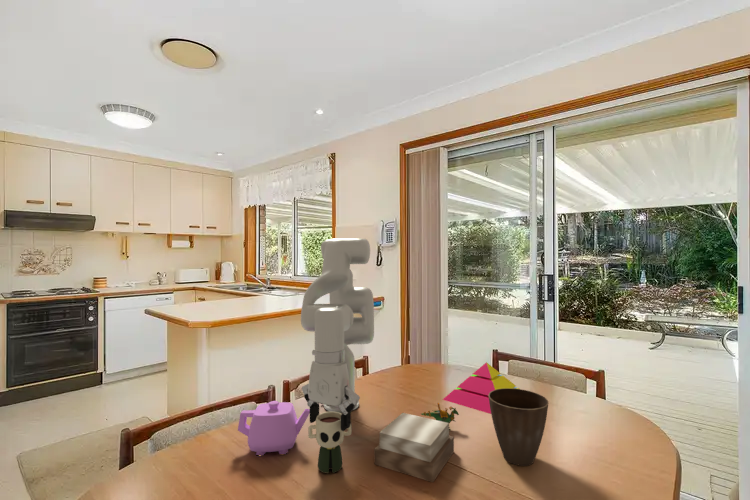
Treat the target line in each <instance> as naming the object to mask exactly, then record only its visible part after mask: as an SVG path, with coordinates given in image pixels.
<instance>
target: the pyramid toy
mask: <svg viewBox="0 0 750 500" xmlns="http://www.w3.org/2000/svg"><path fill="white" fill-rule="evenodd" d="M503 388H513V389H520V388H519V387H517V385H515V384H514V383H513V382H512V381H510V380H509V379H508V378H507V377H505V376H504V375H503V374H502V373H501V372H499V371H498V370H497V369H495V368H494V367H493V366H492V365H491V364H489V363H488V362H487V361H486V362H485V363H484V364H483V365H481V366H480V367H478V369H476V370H475V371H474V372H473V373H472V375H470V376H468V377H467V378H466V379H465V380H464V381H462V382H461V383H460V384H459V385H458V386H457V387H455V388H454V389H453V390H451V391H450V392H449V393H448V394H447V395H446V396H445V397H444V398H442V400H443V401H445V402H450V403H453V404H456V405H460V406H463V407H467V408H469V409H473V410H475V411H480V412H483V413H485V414H486V413H487V414H490V415H491V410H490V403H489V396H488V395H489V393H490V392H491V391H493V390H496V389H503Z"/></svg>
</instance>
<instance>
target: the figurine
mask: <svg viewBox="0 0 750 500" xmlns="http://www.w3.org/2000/svg"><path fill="white" fill-rule="evenodd" d="M437 408H438V409H437V410H432V412H431V410H427V412H426V411H423V412H422V413H420V415H422V416H423V417H425V416H427V417H429V418H434V420H438V421H442V422H447V423H449V424H450V423H451V422H456V420H455V419H456V417H455V415H457V416H459V415H460V414H459V411H458V410H457V409H456V408H457V407H452V406H449V407H448V408H449V410H450V413H449V412H448V408H447V407H445V410H444V409H441V406H440V403H439V402H437ZM449 431H451V428H450V426H449Z"/></svg>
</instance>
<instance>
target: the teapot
mask: <svg viewBox="0 0 750 500" xmlns="http://www.w3.org/2000/svg"><path fill="white" fill-rule="evenodd" d="M309 416H310V408H304V411H302V413H301V415H300V416H299V417H297V412H296V409H295V407H294V404H293V403H292V402H286V401H282V402H279V401H278V400H272V401H269V402H267V403H266V402H265V403H260V404H258V405H257V407H256V408H255V409H251V410H250V409H249V410H244V409H243V410H242V411H241V412H240V413H239V419H238V426H237V431H238V432H239V433H242V434H243V435H245V436H246V437H247V446H248V448H249V450H250V451H251V452H256V453H255V456H256V455H261V456H260V457H262V455H263V456H265V455H266V453H271V452H272V453H273V452H278V454H279V455H280V454H285V455H287V454H288V453H289V450H291V449H292V448H293V447H294V445H295V443H296V441H297V438H298V435H299V434H300V433H301V430H302V428H303V426H304V424H305V423H306V420H307V419H308V417H309ZM247 418H251V421H250V424H248V423H247ZM287 452H288V453H287ZM286 453H287V454H286ZM264 454H265V455H264Z"/></svg>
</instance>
